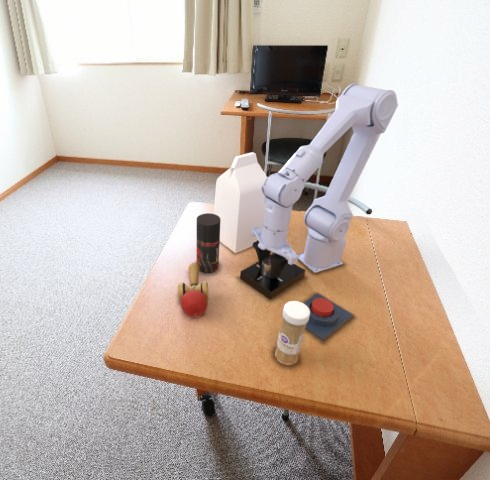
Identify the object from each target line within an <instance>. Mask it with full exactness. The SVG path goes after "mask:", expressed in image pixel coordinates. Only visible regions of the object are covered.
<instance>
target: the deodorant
mask: <svg viewBox="0 0 490 480" xmlns="http://www.w3.org/2000/svg"><path fill="white" fill-rule="evenodd" d="M220 243H221V242H220V217H219V216H218V215H215V214H214V213H211V212H210V213H209V212H207V213H202V214H199V215H198V216H197V217H196V264H198V265H199V267H200V270H199V273H202V274H207V275H210V274H214V273H216V272H217V271H218V270H219V266H220V265H219V264H220V263H219V262H220Z"/></svg>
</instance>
